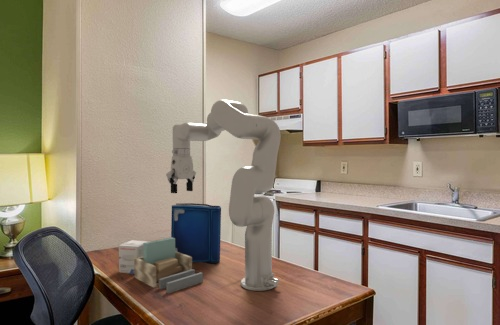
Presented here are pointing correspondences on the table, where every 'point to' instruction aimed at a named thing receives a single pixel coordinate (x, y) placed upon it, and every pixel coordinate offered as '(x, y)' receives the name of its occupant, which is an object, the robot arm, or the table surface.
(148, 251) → the sheet
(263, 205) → the robot arm
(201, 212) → the book
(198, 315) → the table surface
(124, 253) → the ink box
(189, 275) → the stand
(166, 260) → the offcut top
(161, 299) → the table surface
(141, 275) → the bin
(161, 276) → the offcut low
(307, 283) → the table surface
